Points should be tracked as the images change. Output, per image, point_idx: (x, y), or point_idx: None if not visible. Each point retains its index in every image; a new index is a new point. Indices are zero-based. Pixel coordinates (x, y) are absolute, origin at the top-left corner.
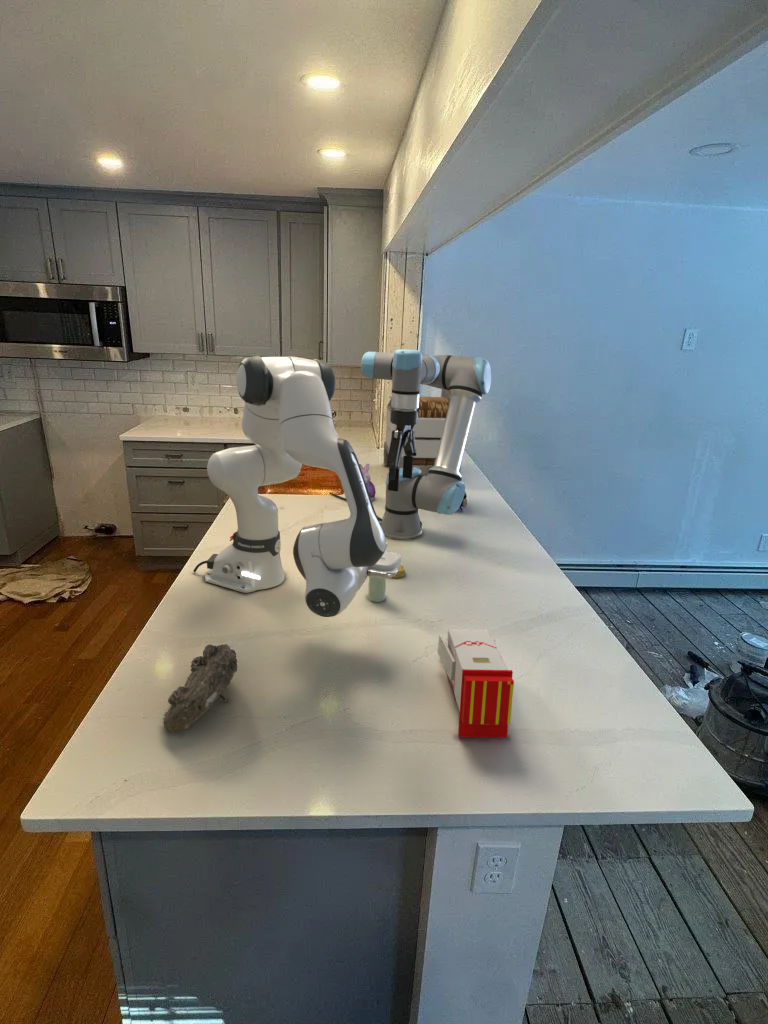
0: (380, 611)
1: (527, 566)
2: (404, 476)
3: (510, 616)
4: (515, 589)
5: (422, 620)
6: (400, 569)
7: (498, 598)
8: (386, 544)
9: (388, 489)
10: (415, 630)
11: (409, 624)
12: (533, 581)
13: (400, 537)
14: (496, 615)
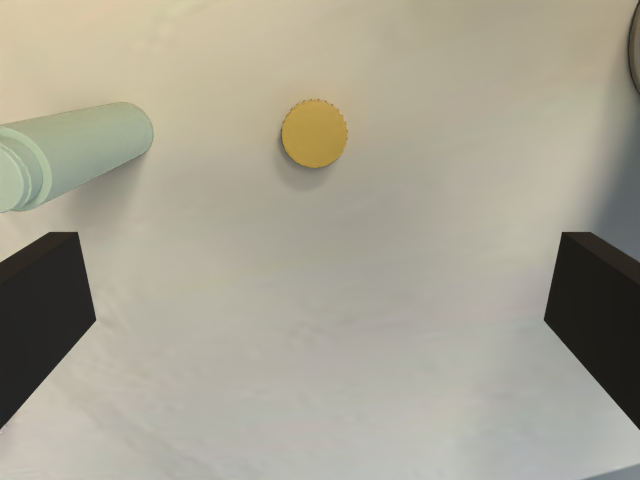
0: None
1: (505, 456)
2: (566, 258)
3: (212, 447)
4: (354, 444)
5: None
6: (309, 157)
7: (287, 418)
8: (37, 202)
9: (46, 238)
10: None
11: None
12: (415, 473)
13: (636, 55)
14: (201, 423)
